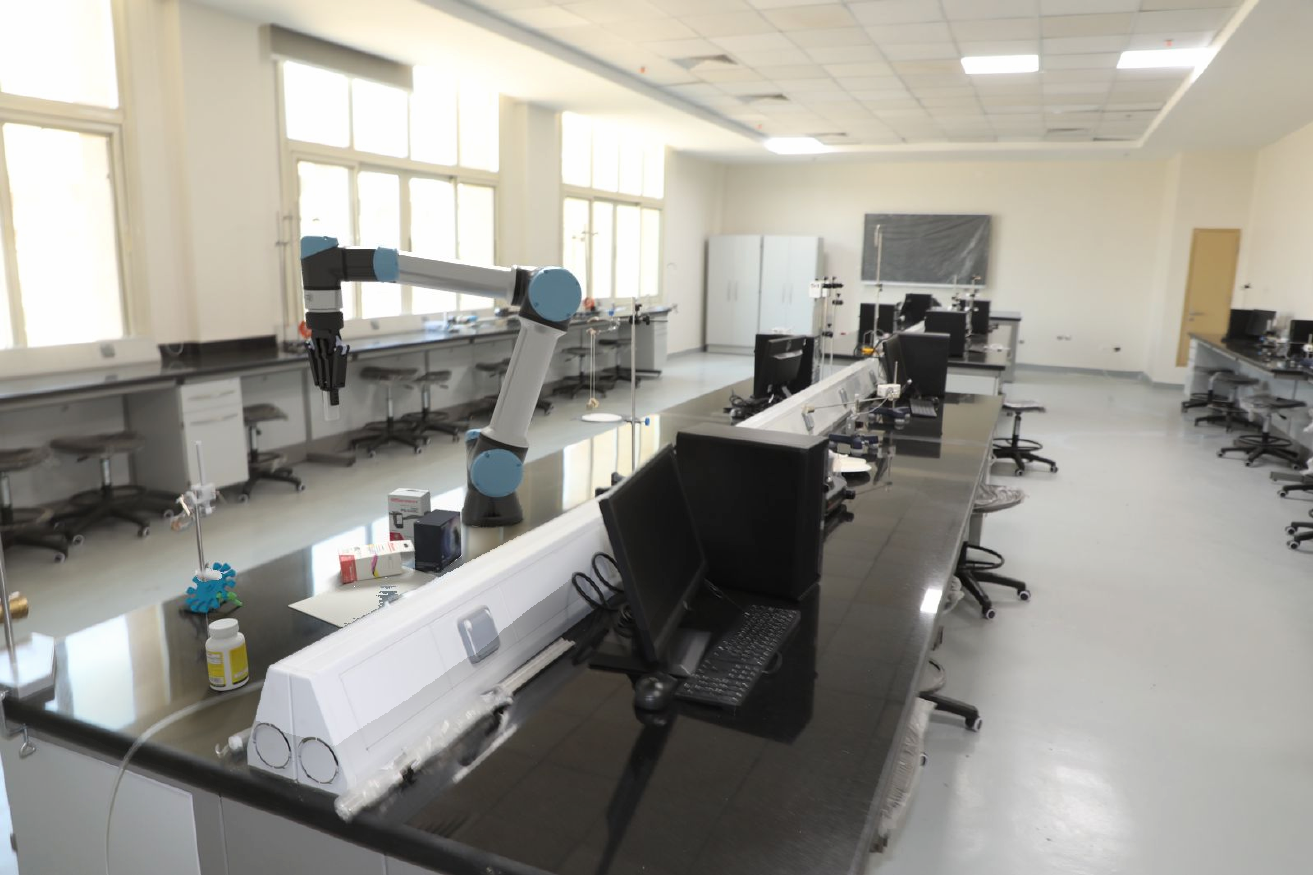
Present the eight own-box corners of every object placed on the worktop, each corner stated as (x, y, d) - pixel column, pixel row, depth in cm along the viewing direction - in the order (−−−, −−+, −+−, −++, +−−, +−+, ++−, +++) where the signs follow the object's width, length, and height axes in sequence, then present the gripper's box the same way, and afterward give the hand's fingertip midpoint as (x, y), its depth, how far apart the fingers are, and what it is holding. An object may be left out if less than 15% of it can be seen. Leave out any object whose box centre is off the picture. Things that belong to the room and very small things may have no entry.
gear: (172, 599, 156) (209, 553, 160) (195, 611, 161) (230, 567, 165) (208, 620, 151) (244, 572, 155) (230, 632, 156) (265, 585, 160)
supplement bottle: (249, 672, 133) (244, 613, 131) (248, 687, 128) (242, 627, 126) (211, 678, 131) (204, 619, 129) (208, 694, 126) (201, 633, 124)
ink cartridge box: (342, 585, 169) (417, 572, 174) (339, 561, 168) (415, 549, 173) (340, 570, 176) (412, 559, 182) (337, 548, 175) (410, 537, 181)
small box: (442, 573, 175) (440, 525, 173) (413, 570, 176) (411, 522, 174) (463, 556, 185) (462, 510, 183) (436, 553, 187) (434, 508, 184)
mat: (400, 566, 179) (400, 565, 179) (459, 584, 169) (459, 584, 169) (288, 606, 158) (288, 605, 158) (348, 630, 148) (348, 629, 148)
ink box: (388, 543, 193) (385, 493, 191) (399, 536, 198) (396, 487, 195) (423, 546, 191) (420, 495, 189) (433, 539, 196) (431, 490, 194)
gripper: (289, 310, 179) (299, 419, 184) (327, 312, 172) (335, 426, 177) (321, 308, 185) (329, 413, 190) (358, 310, 178) (365, 420, 183)
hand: (332, 419), depth 184 cm, fingers closed
